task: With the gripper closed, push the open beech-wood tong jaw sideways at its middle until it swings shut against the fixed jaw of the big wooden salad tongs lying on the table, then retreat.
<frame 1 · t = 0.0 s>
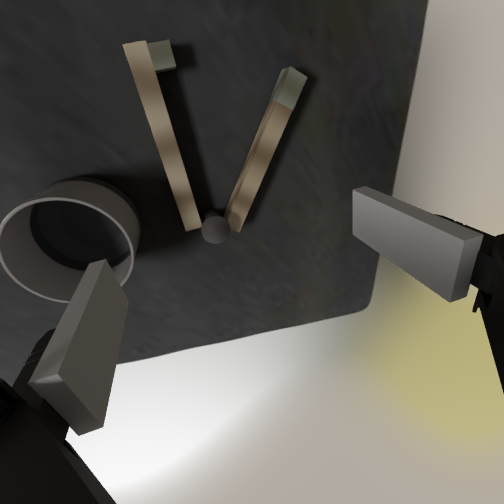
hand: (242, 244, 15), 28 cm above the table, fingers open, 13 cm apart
tongs jaw: (259, 157, 39), point 2 cm above the table, hinge at 35.0°
tongs fixed: (211, 216, 43), on the table
planter: (93, 220, 39), on the table
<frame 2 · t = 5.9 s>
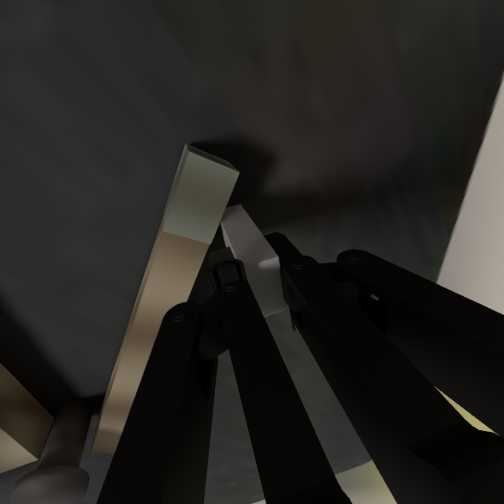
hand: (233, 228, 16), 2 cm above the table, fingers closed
tongs jaw: (151, 323, 18), point 2 cm above the table, hinge at 34.8°, touching gripper
tongs fixed: (76, 409, 22), on the table
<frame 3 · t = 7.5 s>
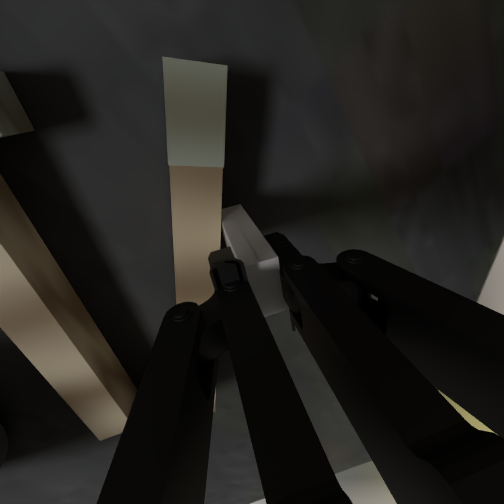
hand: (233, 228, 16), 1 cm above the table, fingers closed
tongs jaw: (195, 279, 17), point 2 cm above the table, hinge at 15.2°, touching gripper
tongs fixed: (159, 384, 23), on the table
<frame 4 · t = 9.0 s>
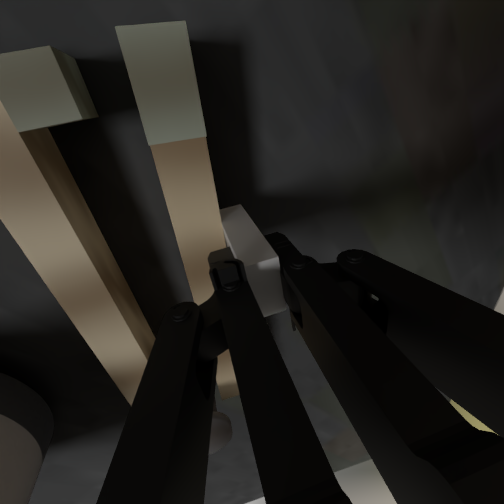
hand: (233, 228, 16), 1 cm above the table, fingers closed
tongs jaw: (206, 261, 17), point 2 cm above the table, hinge at 3.8°, touching gripper
tongs fixed: (195, 370, 23), on the table
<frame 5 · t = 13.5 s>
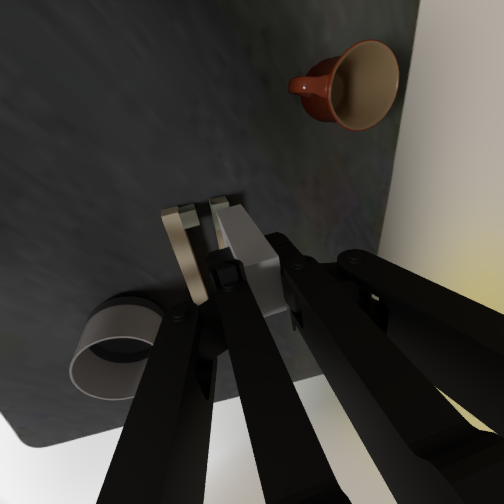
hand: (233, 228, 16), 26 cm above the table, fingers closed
tongs jaw: (230, 262, 46), point 2 cm above the table, hinge at 3.7°
mug: (310, 91, 39), on the table
tongs fixed: (222, 310, 53), on the table
planter: (130, 320, 49), on the table
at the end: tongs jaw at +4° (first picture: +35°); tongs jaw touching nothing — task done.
